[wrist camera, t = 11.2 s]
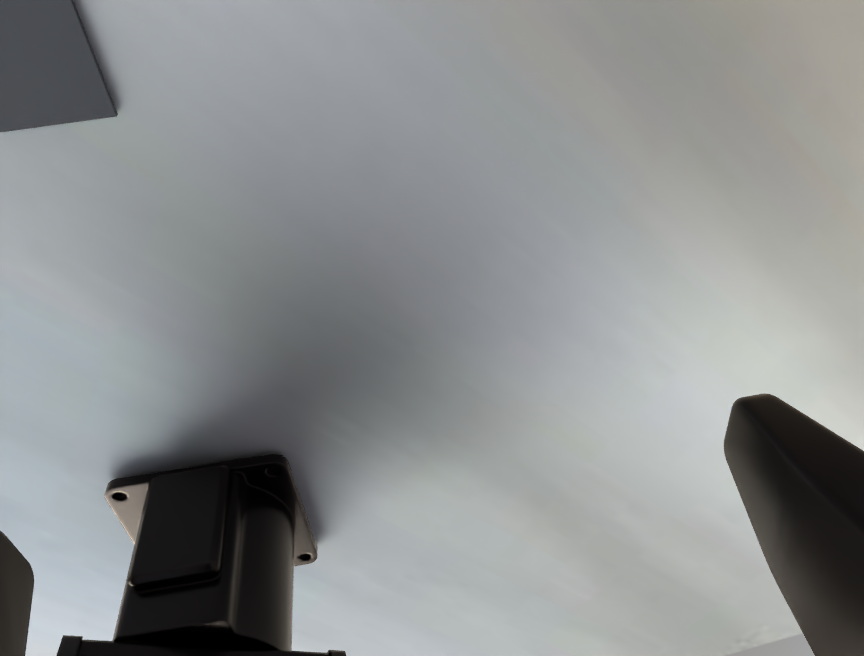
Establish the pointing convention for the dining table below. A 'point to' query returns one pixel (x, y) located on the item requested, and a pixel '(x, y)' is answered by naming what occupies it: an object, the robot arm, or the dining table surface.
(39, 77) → the slate mat
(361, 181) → the dining table surface
